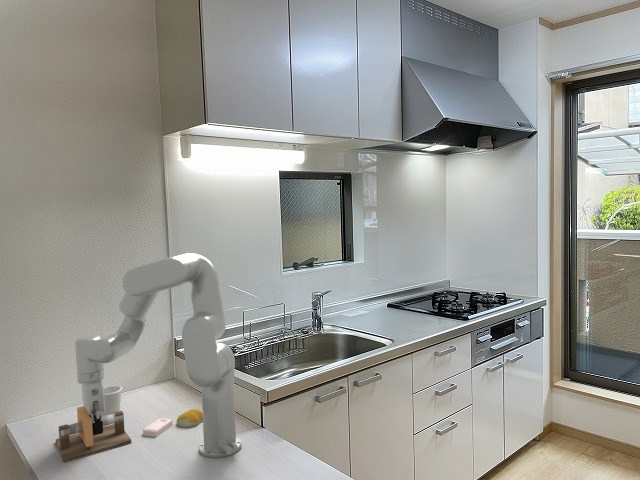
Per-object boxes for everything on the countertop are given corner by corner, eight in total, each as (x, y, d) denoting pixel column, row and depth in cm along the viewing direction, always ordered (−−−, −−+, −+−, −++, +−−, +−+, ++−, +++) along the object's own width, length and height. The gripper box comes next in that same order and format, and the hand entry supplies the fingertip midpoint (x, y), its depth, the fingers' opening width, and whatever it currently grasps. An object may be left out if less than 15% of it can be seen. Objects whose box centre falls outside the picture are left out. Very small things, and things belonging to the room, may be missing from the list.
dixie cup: (114, 423, 170) (112, 394, 169) (92, 421, 172) (90, 393, 171) (128, 413, 178) (126, 385, 177) (107, 411, 180) (106, 384, 179)
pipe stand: (131, 442, 155) (130, 419, 154) (63, 462, 144) (62, 437, 143) (118, 425, 168) (117, 403, 167) (55, 442, 157) (54, 418, 156)
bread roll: (208, 418, 172) (207, 406, 172) (193, 429, 164) (192, 417, 163) (187, 415, 175) (187, 404, 174) (172, 426, 166) (171, 414, 166)
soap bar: (142, 436, 160) (142, 428, 160) (159, 424, 169) (159, 417, 169) (156, 438, 158) (156, 430, 158) (173, 425, 167) (172, 418, 167)
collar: (93, 445, 150) (91, 419, 149) (86, 447, 149) (84, 421, 148) (85, 430, 160) (83, 406, 160) (78, 432, 159) (76, 407, 159)
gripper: (109, 380, 150) (113, 435, 151) (97, 366, 164) (100, 416, 165) (82, 385, 146) (86, 442, 147) (72, 371, 160) (76, 422, 161)
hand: (94, 428), depth 156 cm, fingers open, 9 cm apart
